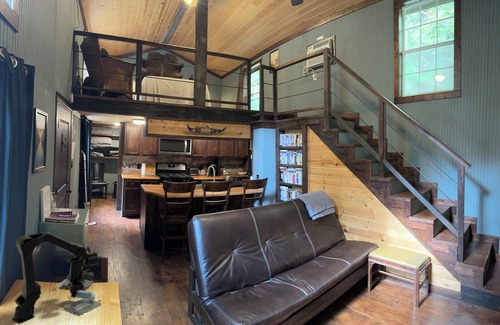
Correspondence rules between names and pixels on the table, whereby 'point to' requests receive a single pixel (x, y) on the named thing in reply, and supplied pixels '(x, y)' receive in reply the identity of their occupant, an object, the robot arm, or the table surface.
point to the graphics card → (85, 282)
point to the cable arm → (85, 294)
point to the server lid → (82, 306)
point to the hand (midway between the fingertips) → (73, 297)
